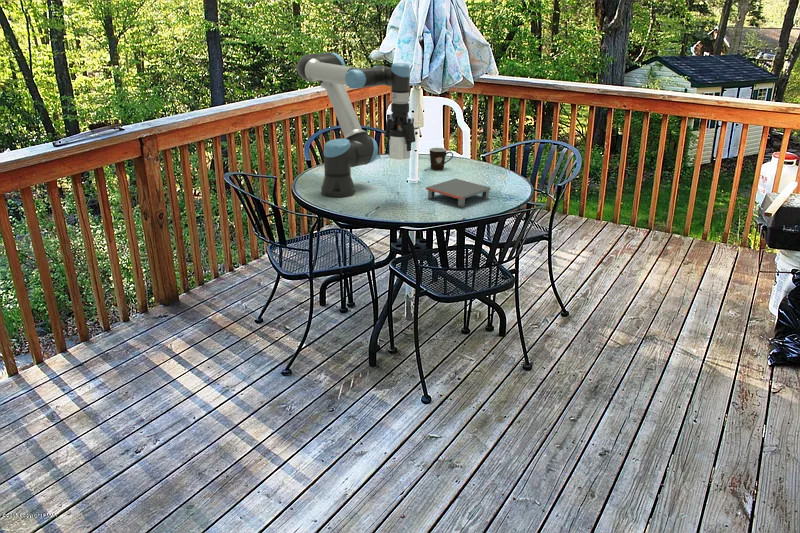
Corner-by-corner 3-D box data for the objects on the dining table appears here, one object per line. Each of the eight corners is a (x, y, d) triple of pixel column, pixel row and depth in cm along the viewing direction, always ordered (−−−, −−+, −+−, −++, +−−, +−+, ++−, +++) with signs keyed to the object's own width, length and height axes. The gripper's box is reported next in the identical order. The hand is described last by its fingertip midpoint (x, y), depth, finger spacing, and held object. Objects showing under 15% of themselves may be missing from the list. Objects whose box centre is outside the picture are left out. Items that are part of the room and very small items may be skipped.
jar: (385, 157, 280) (385, 129, 276) (395, 153, 287) (395, 126, 282) (403, 160, 276) (404, 132, 272) (413, 156, 283) (413, 128, 278)
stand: (425, 198, 292) (425, 187, 290) (455, 189, 305) (455, 178, 303) (460, 208, 279) (461, 197, 277) (490, 198, 293) (490, 187, 291)
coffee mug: (427, 170, 335) (427, 150, 331) (431, 166, 343) (431, 147, 339) (449, 172, 332) (450, 152, 328) (453, 168, 340) (453, 148, 336)
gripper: (376, 100, 277) (376, 153, 286) (412, 106, 263) (411, 162, 272) (388, 98, 282) (388, 150, 291) (425, 104, 268) (423, 159, 277)
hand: (399, 156), depth 281 cm, fingers closed on jar, 8 cm apart
